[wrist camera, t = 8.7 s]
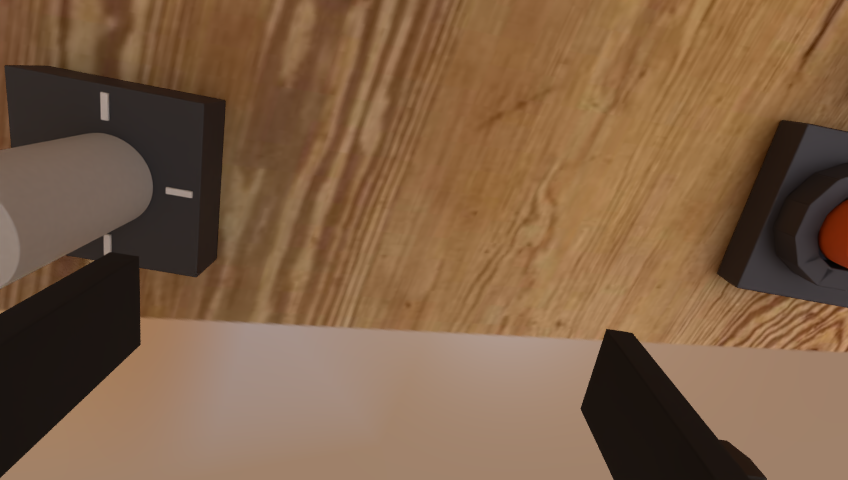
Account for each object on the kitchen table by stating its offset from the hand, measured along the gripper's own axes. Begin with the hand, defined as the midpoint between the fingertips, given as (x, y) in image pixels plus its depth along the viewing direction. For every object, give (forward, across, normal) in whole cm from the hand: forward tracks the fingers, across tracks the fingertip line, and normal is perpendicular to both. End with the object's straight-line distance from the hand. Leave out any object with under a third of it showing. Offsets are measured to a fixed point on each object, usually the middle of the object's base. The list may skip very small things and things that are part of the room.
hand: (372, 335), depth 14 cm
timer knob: (+14, -16, -1) cm, 21 cm away
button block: (+17, +25, +3) cm, 31 cm away
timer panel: (+17, -16, -1) cm, 23 cm away
